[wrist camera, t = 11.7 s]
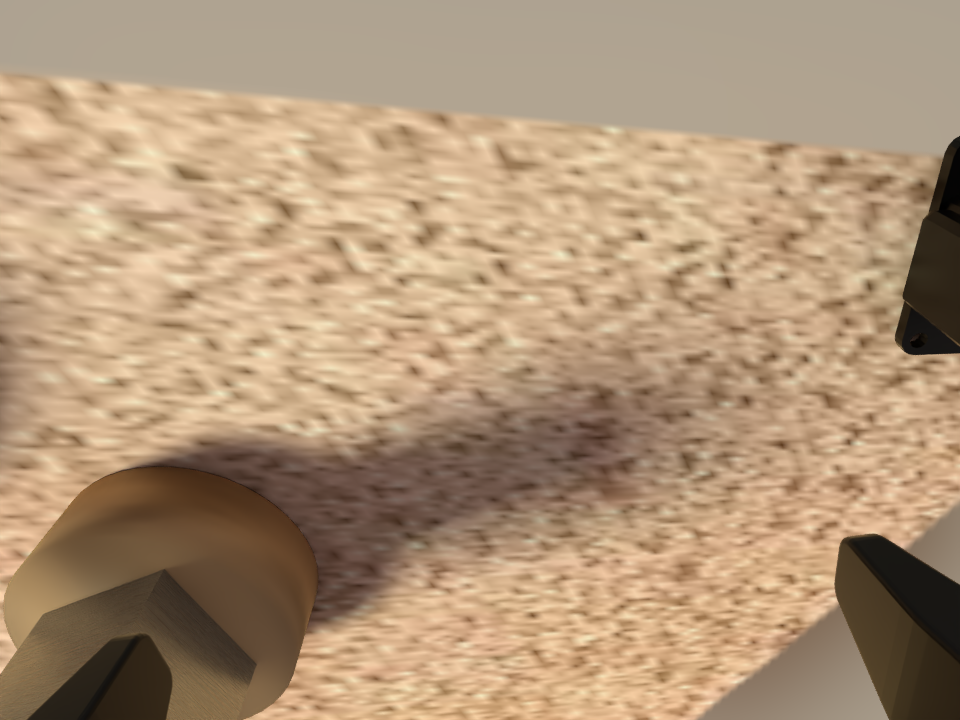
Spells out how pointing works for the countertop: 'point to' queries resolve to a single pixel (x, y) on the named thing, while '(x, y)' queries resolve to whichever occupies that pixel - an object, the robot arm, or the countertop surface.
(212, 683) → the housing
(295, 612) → the pedestal
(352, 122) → the countertop surface
